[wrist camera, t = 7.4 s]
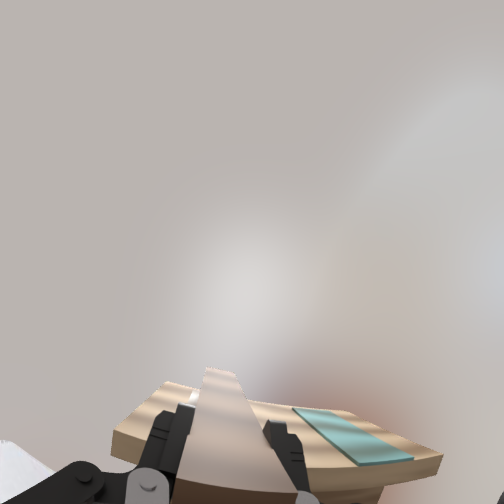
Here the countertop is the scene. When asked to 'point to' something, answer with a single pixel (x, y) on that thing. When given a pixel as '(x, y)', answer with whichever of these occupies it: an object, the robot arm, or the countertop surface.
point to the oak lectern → (307, 446)
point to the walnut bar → (229, 451)
